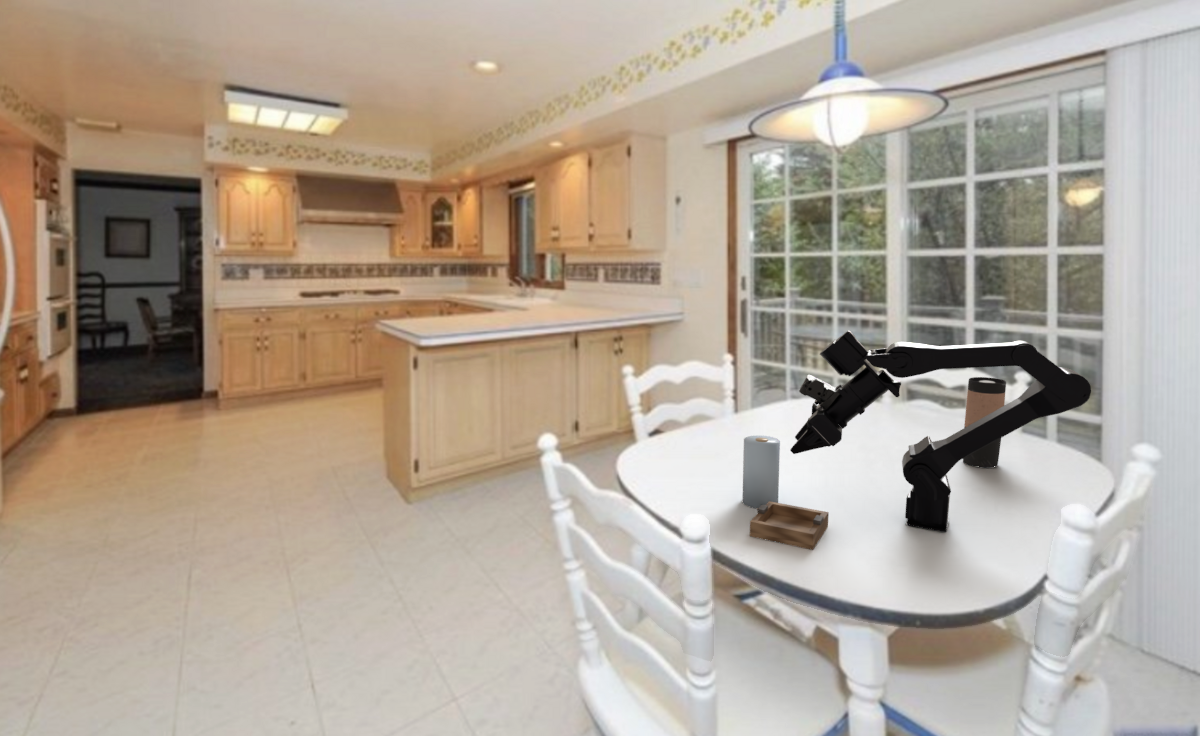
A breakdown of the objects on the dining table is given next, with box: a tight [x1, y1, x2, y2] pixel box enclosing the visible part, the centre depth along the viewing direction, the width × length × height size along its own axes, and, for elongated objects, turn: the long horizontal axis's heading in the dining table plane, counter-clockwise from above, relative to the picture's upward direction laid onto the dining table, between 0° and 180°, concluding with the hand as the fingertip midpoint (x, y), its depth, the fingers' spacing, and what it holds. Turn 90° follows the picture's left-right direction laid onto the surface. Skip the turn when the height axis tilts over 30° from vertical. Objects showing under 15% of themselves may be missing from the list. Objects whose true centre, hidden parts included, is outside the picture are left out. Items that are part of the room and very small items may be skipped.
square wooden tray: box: [749, 501, 829, 551], centre depth 117 cm, size 11×11×4 cm
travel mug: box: [962, 376, 1007, 468], centre depth 151 cm, size 8×8×20 cm
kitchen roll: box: [742, 435, 781, 509], centre depth 130 cm, size 7×7×13 cm
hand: (794, 445), depth 126 cm, fingers open, 9 cm apart
